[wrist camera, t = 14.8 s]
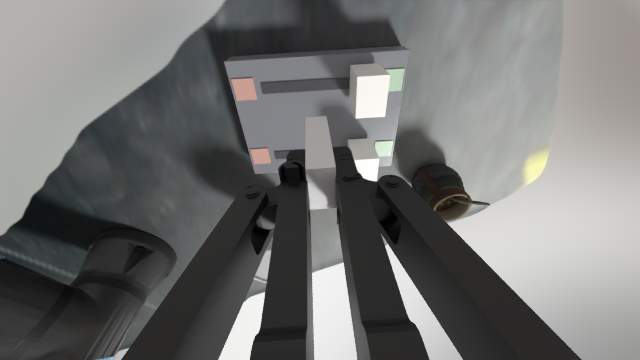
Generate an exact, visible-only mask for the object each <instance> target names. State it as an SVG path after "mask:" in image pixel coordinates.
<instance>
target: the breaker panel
mask: <svg viewBox="0 0 640 360" xmlns="http://www.w3.org/2000/svg"><path fill="white" fill-rule="evenodd" d="M409 52H410V50H409V49H407V48H405V47H403V46H388V47H373V48H357V49H341V50H325V51H309V52H294V53H278V54H262V55H246V56H231V57H230V58H229V59H227V60H226V61H224V64H225V67H226V71H227V75H228V78H229V82H230V85H231V89H232V93H233V96H234V100H235V103H236V107H237V111H238V114H239V118H240V122H241V125H242V129H243V132H244V136H245V140H246V143H247V147H248V150H249V154H250V158H251V161H252V165H253V169H254V172H255V174H263V173H279V171H278V168H279V166H280V165H281V164H283V163H285V162H286V158H287V154H288V153H289V152H290V151H291V150H305V132H306V117H318V116H327V121H328V127H329V132H330V138H331V143H332V147H340V146H347V147H348V140H349V139H365V138H371V140H372V143H373V145H374V147H375V150H376V152H377V154H378V157H379V166H378V167H380V166H391V162H392V156H393V150H394V144H395V138H396V132H397V125H398V119H399V113H400V107H401V101H402V95H403V89H404V83H405V77H406V71H407V65H408V59H409ZM373 63H378V64H379V65H380V66H381V67H383V68H384V69H385V70H386V71H387V72H388V73H389V74H390V82H389V90H388V98H387V106H386V113H385V117H374V118H358V119H356V118H355V116H354V113H353V111H352V108H351V105H350V103H349V88H350V65H357V64H373Z"/></svg>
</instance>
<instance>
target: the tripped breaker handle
mask: <svg viewBox="0 0 640 360" xmlns="http://www.w3.org/2000/svg"><path fill="white" fill-rule="evenodd" d="M389 82H390V74H389V73H388V72H387V71H386V70H385V69H384V68H383V67H381V66H380V65H379V64H378V63H373V64H357V65H350V88H349V103H350V105H351V108H352V111H353V113H354V116H355V118H356V119H358V118H374V117H385V113H386V106H387V98H388V90H389Z"/></svg>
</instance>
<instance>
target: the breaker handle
mask: <svg viewBox="0 0 640 360" xmlns="http://www.w3.org/2000/svg"><path fill="white" fill-rule="evenodd" d="M348 148H349V149H351V152H352V155H353V158H354V161H355V164H356V168H357V171H358V172H359V173H360V174H361V175H362V177H363V178H364V179H367V180H370V181H377V174H378V166H379V157H378V154H377V152H376V150H375V147H374V145H373V143H372V140H371V138H365V139H349V140H348Z"/></svg>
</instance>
